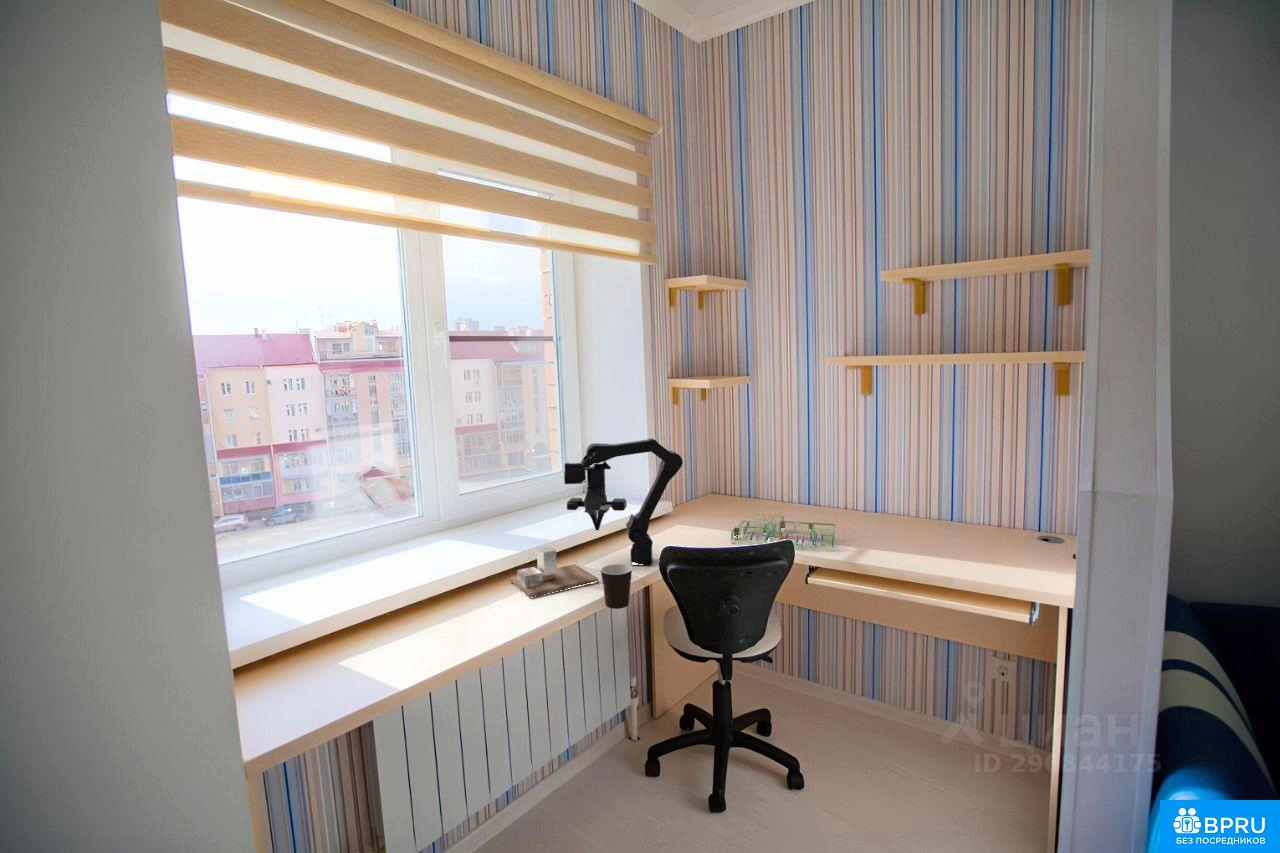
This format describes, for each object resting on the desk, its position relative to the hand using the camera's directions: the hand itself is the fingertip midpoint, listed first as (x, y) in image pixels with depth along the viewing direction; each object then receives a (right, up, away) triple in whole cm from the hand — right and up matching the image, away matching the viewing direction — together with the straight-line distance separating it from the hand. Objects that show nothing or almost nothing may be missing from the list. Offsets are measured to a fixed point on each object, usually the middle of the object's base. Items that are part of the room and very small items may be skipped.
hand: (597, 530), depth 207 cm
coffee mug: (+8, -15, -30) cm, 35 cm away
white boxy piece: (-16, -12, -16) cm, 26 cm away
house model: (+68, -8, +30) cm, 74 cm away
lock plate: (-13, -14, -14) cm, 24 cm away
